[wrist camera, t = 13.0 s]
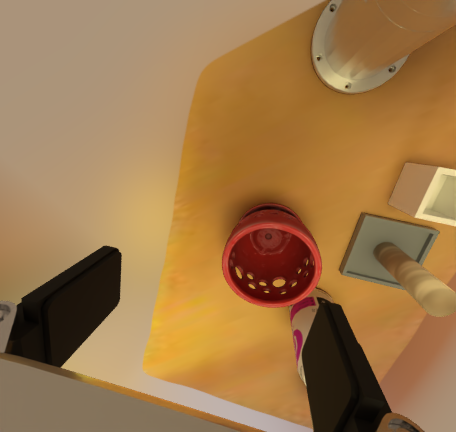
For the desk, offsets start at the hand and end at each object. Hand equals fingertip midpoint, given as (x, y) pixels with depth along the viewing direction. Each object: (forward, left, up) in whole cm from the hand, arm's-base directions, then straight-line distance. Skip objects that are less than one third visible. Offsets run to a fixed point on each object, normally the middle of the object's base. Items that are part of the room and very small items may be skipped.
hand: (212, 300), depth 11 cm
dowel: (+6, +24, -30) cm, 38 cm away
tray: (+6, +24, -30) cm, 39 cm away
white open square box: (-5, +25, -30) cm, 40 cm away
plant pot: (+8, +5, -31) cm, 32 cm away
